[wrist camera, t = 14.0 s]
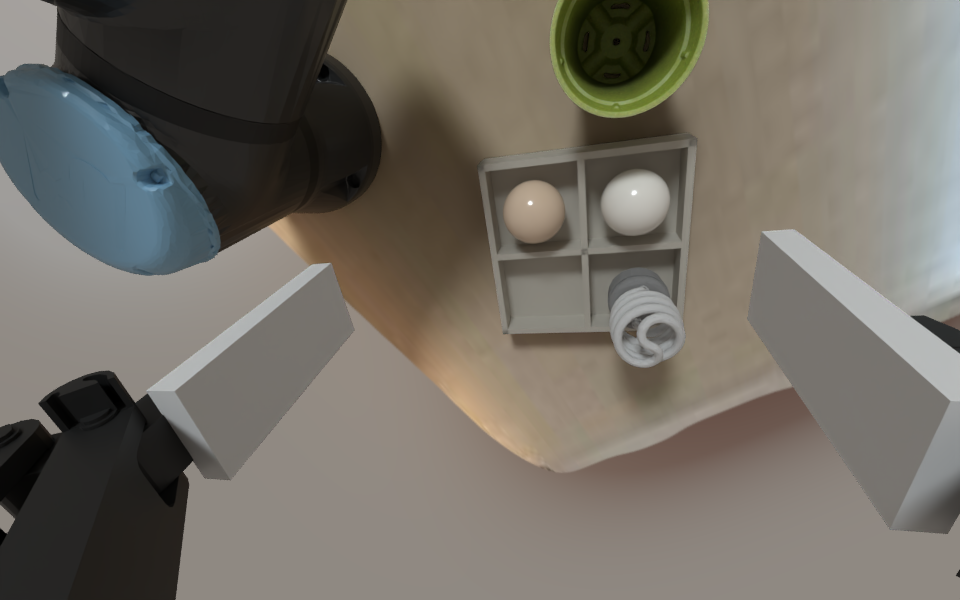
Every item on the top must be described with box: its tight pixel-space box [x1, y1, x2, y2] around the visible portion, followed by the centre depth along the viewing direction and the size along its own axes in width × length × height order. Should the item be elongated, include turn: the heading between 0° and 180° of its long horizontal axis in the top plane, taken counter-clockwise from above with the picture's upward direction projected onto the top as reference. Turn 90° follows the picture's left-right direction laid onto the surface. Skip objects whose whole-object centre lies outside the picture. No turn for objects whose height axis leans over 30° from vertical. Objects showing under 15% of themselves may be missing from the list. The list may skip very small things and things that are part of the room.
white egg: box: [601, 168, 671, 236], centre depth 36 cm, size 6×6×6 cm
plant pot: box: [550, 0, 709, 118], centre depth 30 cm, size 9×9×9 cm
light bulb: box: [608, 267, 686, 368], centre depth 37 cm, size 6×6×12 cm
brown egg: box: [503, 180, 565, 243], centre depth 38 cm, size 6×6×6 cm
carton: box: [477, 133, 697, 334], centre depth 40 cm, size 18×18×3 cm
